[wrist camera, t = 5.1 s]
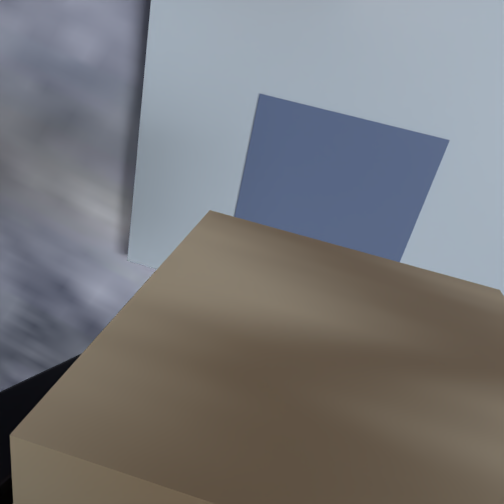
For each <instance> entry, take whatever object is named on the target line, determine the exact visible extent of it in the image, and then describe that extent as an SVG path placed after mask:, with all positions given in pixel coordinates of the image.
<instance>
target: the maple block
mask: <svg viewBox="0 0 504 504" xmlns="http://www.w3.org/2000/svg"><path fill="white" fill-rule="evenodd" d="M10 452H11V471H12V489H13V504H504V295H503V294H502V293H501V291H500V290H499V289H495V288H491V287H488V286H484V285H480V284H477V283H473V282H469V281H466V280H462V279H459V278H455V277H451V276H448V275H444V274H440V273H437V272H433V271H430V270H426V269H422V268H419V267H415V266H411V265H408V264H404V263H400V262H397V261H393V260H390V259H386V258H382V257H379V256H375V255H371V254H368V253H364V252H360V251H357V250H353V249H350V248H346V247H342V246H339V245H335V244H331V243H328V242H324V241H320V240H317V239H313V238H310V237H306V236H302V235H299V234H295V233H291V232H288V231H284V230H280V229H277V228H273V227H270V226H266V225H262V224H259V223H255V222H251V221H248V220H244V219H241V218H237V217H233V216H230V215H226V214H222V213H219V212H215V211H211V210H209V212H208V213H207V214H206V215H205V216H204V217H203V218H202V219H201V221H200V222H199V223H198V224H197V225H196V226H195V227H194V228H193V229H192V231H191V232H190V233H189V234H188V235H187V236H186V237H185V238H184V240H183V241H182V242H181V243H180V244H179V245H178V246H177V247H176V249H175V250H174V251H173V252H172V253H171V254H170V255H169V256H168V258H167V259H166V260H165V261H164V262H163V263H162V264H161V265H160V267H159V268H158V269H157V270H156V271H155V272H154V273H153V274H152V276H151V277H150V278H149V279H148V280H147V281H146V282H145V283H144V285H143V286H142V287H141V288H140V289H139V290H138V291H137V292H136V294H135V295H134V296H133V297H132V298H131V299H130V300H129V301H128V303H127V304H126V305H125V306H124V307H123V308H122V309H121V310H120V312H119V313H118V314H117V315H116V316H115V317H114V318H113V319H112V320H111V322H110V323H109V324H108V325H107V326H106V327H105V328H104V329H103V331H102V332H101V333H100V334H99V335H98V336H97V337H96V338H95V340H94V341H93V342H92V343H91V344H90V345H89V346H88V347H87V349H86V350H85V351H84V352H83V353H82V354H81V355H80V356H79V358H78V359H77V360H76V361H75V362H74V363H73V364H72V365H71V367H70V368H69V369H68V370H67V371H66V372H65V373H64V374H63V376H62V377H61V378H60V379H59V380H58V381H57V382H56V383H55V385H54V386H53V387H52V388H51V389H50V390H49V391H48V392H47V394H46V395H45V396H44V397H43V398H42V399H41V400H40V401H39V403H38V404H37V405H36V406H35V407H34V408H33V409H32V410H31V411H30V413H29V414H28V415H27V416H26V417H25V418H24V419H23V420H22V422H21V423H20V424H19V425H18V426H17V427H16V428H15V429H14V431H13V432H12V433H11V434H10Z"/></svg>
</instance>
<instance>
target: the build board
mask: <svg viewBox="0 0 504 504" xmlns="http://www.w3.org/2000/svg"><path fill="white" fill-rule="evenodd" d="M209 210H211V211H215V212H219V213H222V214H226V215H230V216H233V217H237V218H241V219H244V220H248V221H251V222H255V223H259V224H262V225H266V226H270V227H273V228H277V229H280V230H284V231H288V232H291V233H295V234H299V235H302V236H306V237H310V238H313V239H317V240H320V241H324V242H328V243H331V244H335V245H339V246H342V247H346V248H350V249H353V250H357V251H360V252H364V253H368V254H371V255H375V256H379V257H382V258H386V259H390V260H393V261H397V262H400V263H404V264H408V265H411V266H415V267H419V268H422V269H426V270H430V271H433V272H437V273H440V274H444V275H448V276H451V277H455V278H459V279H462V280H466V281H469V282H473V283H477V284H480V285H484V286H488V287H491V288H495V289H499V290H500V291H501V293H502V294H503V295H504V0H151V6H150V17H149V28H148V39H147V50H146V61H145V72H144V83H143V94H142V105H141V115H140V126H139V137H138V148H137V159H136V170H135V181H134V192H133V203H132V214H131V225H130V236H129V247H128V258H127V261H130V262H133V263H137V264H140V265H144V266H147V267H151V268H154V269H158V268H159V267H160V265H161V264H162V263H163V262H164V261H165V260H166V259H167V258H168V256H169V255H170V254H171V253H172V252H173V251H174V250H175V249H176V247H177V246H178V245H179V244H180V243H181V242H182V241H183V240H184V238H185V237H186V236H187V235H188V234H189V233H190V232H191V231H192V229H193V228H194V227H195V226H196V225H197V224H198V223H199V222H200V221H201V219H202V218H203V217H204V216H205V215H206V214H207V213H208V212H209Z"/></svg>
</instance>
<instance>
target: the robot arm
mask: <svg viewBox="0 0 504 504" xmlns="http://www.w3.org/2000/svg"><path fill="white" fill-rule="evenodd" d="M80 355H81V354H80ZM80 355H78V356H75V357H73V358H71V359H69V360H67V361H65V362H63V363H61V364H58V365H56V366H54V367H52V368H50V369H48V370H46V371H44V372H41V373H39V374H37V375H35V376H33V377H31V378H29V379H27V380H24V381H22V382H20V383H18V384H16V385H14V386H12V387H10V388H7V389H5V390H3V391H1V392H0V504H13V489H12V471H11V452H10V434H11V433H12V432H13V431H14V429H15V428H16V427H17V426H18V425H19V424H20V423H21V422H22V420H23V419H24V418H25V417H26V416H27V415H28V414H29V413H30V411H31V410H32V409H33V408H34V407H35V406H36V405H37V404H38V403H39V401H40V400H41V399H42V398H43V397H44V396H45V395H46V394H47V392H48V391H49V390H50V389H51V388H52V387H53V386H54V385H55V383H56V382H57V381H58V380H59V379H60V378H61V377H62V376H63V374H64V373H65V372H66V371H67V370H68V369H69V368H70V367H71V365H72V364H73V363H74V362H75V361H76V360H77V359H78V358H79V356H80Z"/></svg>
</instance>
